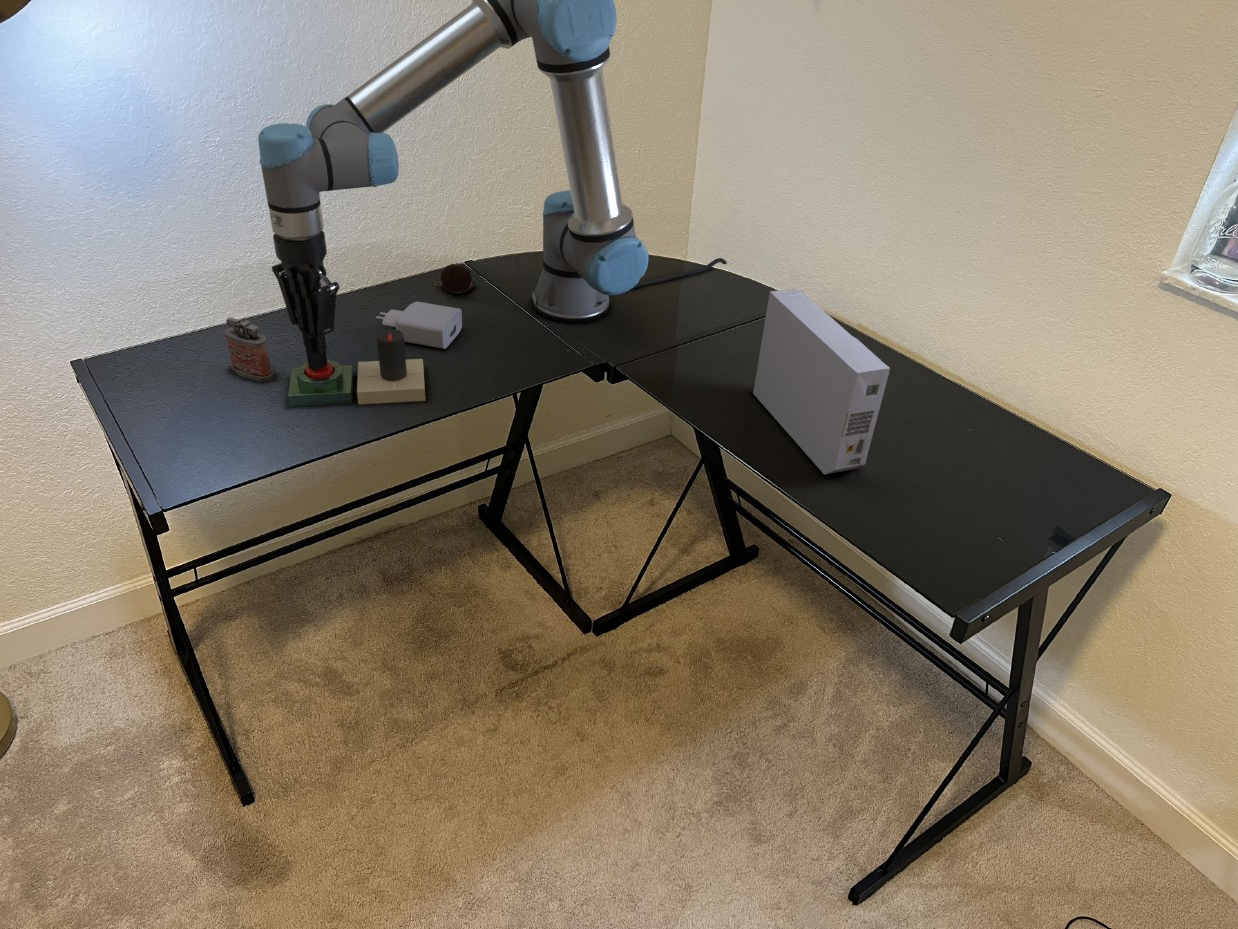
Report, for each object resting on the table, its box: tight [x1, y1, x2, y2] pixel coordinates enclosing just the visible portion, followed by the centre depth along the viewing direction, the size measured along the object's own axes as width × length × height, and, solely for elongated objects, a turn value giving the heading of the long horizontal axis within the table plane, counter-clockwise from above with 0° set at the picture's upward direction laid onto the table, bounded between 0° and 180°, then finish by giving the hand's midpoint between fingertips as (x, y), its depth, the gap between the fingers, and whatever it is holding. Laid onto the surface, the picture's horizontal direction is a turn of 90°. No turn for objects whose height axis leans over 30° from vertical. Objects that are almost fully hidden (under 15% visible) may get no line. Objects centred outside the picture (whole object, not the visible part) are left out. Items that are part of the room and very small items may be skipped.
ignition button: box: [305, 362, 334, 379], centre depth 158 cm, size 4×4×2 cm
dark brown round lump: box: [434, 261, 475, 295], centre depth 192 cm, size 8×8×7 cm
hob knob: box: [375, 328, 407, 381], centre depth 159 cm, size 4×4×8 cm
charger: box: [375, 301, 463, 350], centre depth 177 cm, size 5×9×15 cm
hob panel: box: [356, 358, 426, 405], centre depth 162 cm, size 11×10×3 cm
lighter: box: [223, 316, 274, 382], centre depth 160 cm, size 8×3×10 cm, turn 65°
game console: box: [752, 288, 891, 475], centre depth 152 cm, size 6×27×20 cm, turn 20°
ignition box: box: [287, 359, 355, 408], centre depth 159 cm, size 10×9×4 cm
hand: (318, 366), depth 157 cm, fingers closed
